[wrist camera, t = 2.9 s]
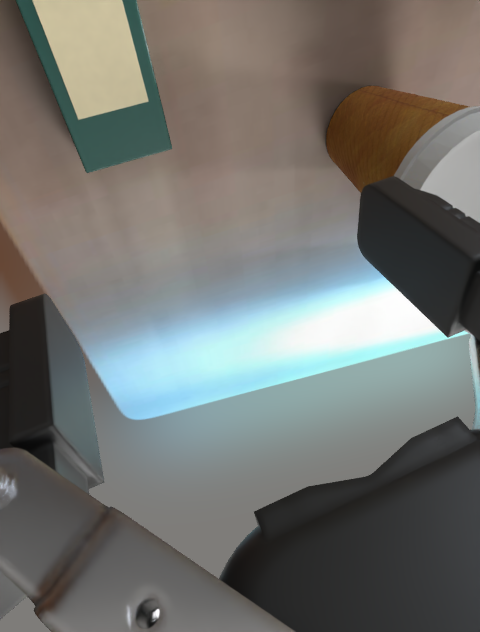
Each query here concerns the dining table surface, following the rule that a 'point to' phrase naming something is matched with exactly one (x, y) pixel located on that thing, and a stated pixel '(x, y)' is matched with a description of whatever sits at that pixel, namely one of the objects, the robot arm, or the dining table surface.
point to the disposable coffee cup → (409, 144)
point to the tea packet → (100, 77)
